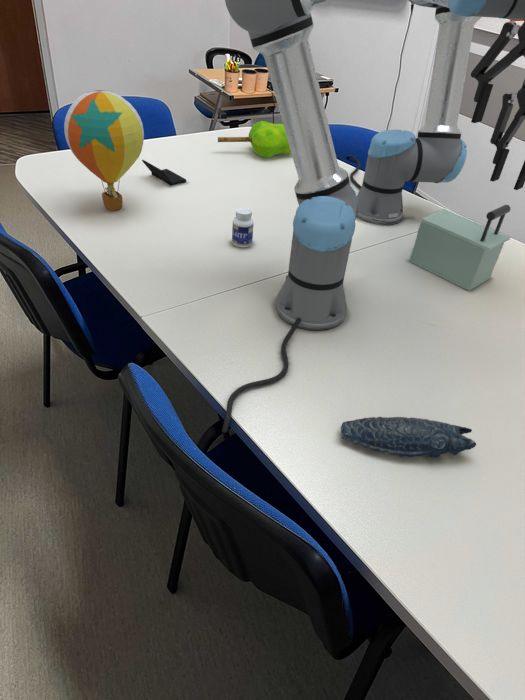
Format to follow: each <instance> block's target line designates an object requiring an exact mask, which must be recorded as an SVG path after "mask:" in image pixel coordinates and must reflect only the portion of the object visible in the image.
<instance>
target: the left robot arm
mask: <svg viewBox="0 0 525 700" xmlns="http://www.w3.org/2000/svg"><path fill="white" fill-rule="evenodd" d="M328 1H329V0H224V3H225V7H226V9H227V11H228V14H229V16H230V17H231V19H232V20H233V21H234V22H235V24H236V25H237V26H238V27H240V28H241V29H242V30H245V31H246V32H247V33H248V36H249V39H250V43H251V46H252V49H253V50H254V51H256V52H257V53H259V54H261V55H262V57H263V58H264V62H265V65H266V69H267V71H268V76H269V79H270V84H271V86H272V90H273V93H274V97H275V100H276V101H275V102H276V104H277V108H278V111H279V114H280V118H281V121H282V124H283V125H284V129H285V132H286V136H287V139H288V143H289V146H290V150H291V153H290V154H291V157H292V160H293V163H294V167H295V171H296V174H297V179H298V180H297V182H296V184H295V186H294V187H293V188H294V189H293V190H294V193H295V197H296V201H297V204H298V206H297V208H296V210H295V215H294V217H293V219H292V237H291V246H290V255H289V262H288V263H289V264H288V270H287V271H288V272H287V274H286V275H285V279H284V282H283V283H282V285H281V287H280V290H279V291H278V294H277V296H276V300H275V311H276V313H277V315H278V316H279V317H280V318H281V319H282V320H283V321H284V322H286V323H287V324H289V325H291V328H290V329H289V330H288V332H287V334H286V335H285V336H284V338H283V339H282V343H281V346H280V350H281V351H280V353H281V359H282V362H283V367H282V370H281V371H280V372H279V373H278V374H276V375H275V376H273V377H270V378H266V379H261V380H257V381H252V382H248V383H246V384H242V385H241V386H240V387H238V388H237V389H235V390H234V391H233V392H232V393H231V394H230V396H229V398H228V400H227V403H226V411H225V416H224V421H223V425H222V429H221V432H222V433H223V434H224V433H227V432H228V430H229V427H230V423H231V419H232V413H233V405H234V402H235V400H236V399H237V398H238V396H239V395H240V394H241V393H243V392H245V391H247V390H249V389H253V388H257V387H263V386H266V385H271V384H274V383H276V382H279V381H280V380H281V379H283V378H284V377H285V376H286V374H287V373H288V371H289V366H290V365H289V364H290V363H289V358H288V354H287V347H288V346H287V345H288V343H289V342H290V339H291V338H292V336H293V335H294V333H295V331H296V330H297V329H298V328H300V329H304V330H310V331H324V330H325V331H326V330H329V329H333V328H336V327H337V326H339V325H340V324H342V323H343V322H344V320H345V318H346V315H347V310H348V307H347V306H348V305H347V297H346V292H345V286H344V280H345V275H346V271H347V267H348V266H347V265H348V260H349V257H350V251H351V245H352V241H353V236H354V235H355V230H356V220H357V219H358V218H357V214H358V200H357V194H356V191H355V190H354V188H353V187H352V185H351V181H350V176H349V173H348V171H347V170H346V169H344V168H343V167H340V166H339V163H338V157H337V154H336V151H335V146H334V142H333V138H332V134H331V130H330V125H329V121H328V117H327V113H326V112H327V111H326V109H325V104H324V100H323V96H322V91H321V87H320V83H319V79H318V75H317V71H316V66H315V62H314V58H313V53H312V50H311V46H310V41H309V39H310V35H311V33H312V31H313V29H314V27H315V26H314V22H313V16H312V13H311V12H312V10H313V8H314V7H315V6H316V5H318V4H322V3H325V2H328ZM500 30H501V31H500V32H499V35H498V37H497V38H496V39H495V41H494V42H493V43H492V44H491V46H490V47H489V48H488V50H487V51H486V52H485V54H484V55H483V56H482V57H481V59H480V61H478V63H477V64H476V66H475V67H474V68H473V70H472V71H471V73H470V77H471V78H472V79H475V80H476V81H477V86H476V90H475V93H474V97H473V102H474V103H476V104H475V108H474V111H473V114H472V117H471V121H470V123H472V124H477V123H481V122H482V121H483V120H484V119H483V118H484V115H485V113H486V109H487V106H488V103H489V99H490V97H491V93H492V90H493V88H494V84H493V83H492V80H494V79H495V78H497V76H498V75H500V74H501V73H502V72H503V71H505V70H506V69H508V67H510V65H512V64H513V63H515V61H517V60H518V59H519V58H521V57H522V56H523V58H525V20H523V23H522V24H521V25H519V24H517V22H515V21H507V22H504V23H503V25H502V28H501V29H500ZM516 35H517V38H518V43H517V44H516V45H515V46H514V47H513V48H512V49H510V50H509V52H508V53H507V54H505V55H504V56H503V57H502V58H501V59H500V60H499V61H497V62H496V63H495V64H493V63H494V61H495V60H496V59H497V58H498V56H499V55H500V54H501V53H502V52H503V50H504V49H505V47H506V46H507V45H508V44H509V42H510V41H511V39H513V38H515V36H516ZM492 64H493V66H491V65H492ZM490 66H491V67H490Z"/></svg>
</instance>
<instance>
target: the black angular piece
mask: <svg viewBox="0 0 525 700" xmlns="http://www.w3.org/2000/svg"><path fill="white" fill-rule="evenodd" d="M141 161H142V163H143V164H144V165H145V167H147V169H148V170H149V171H150V172H151V174H150V175H151V176H153V177H155V178H156V179H158V180H160V181H162V182H163V183H165V184H167V185H168V186H170V187H172V186H177V185H180V184H184V183H185V184H186V183H187V179H186V178H184V177H183V176H181V175H179V174H177V173H175V172H173V171H172V170H170V169H168V168H164V169H161V168H159V167H157V166H155V165H153V164H151V163H150V162H148V161H146V160H145V159H142V160H141Z"/></svg>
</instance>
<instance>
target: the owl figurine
mask: <svg viewBox="0 0 525 700" xmlns="http://www.w3.org/2000/svg"><path fill="white" fill-rule="evenodd" d="M472 431H473V429H471V428H470V427H466V426H460V425H456V424H450V423H448V422H443V421H437V420H431V419H427V418H421V417H420V418H419V417H405V416H392V417H387V416H386V417H385V416H377V417H375V416H373V417H372V416H371V417H363V418H358V419H353V420H347V421H343V422H342V423H341V425H340V432H341V434H340V439H343V440H347V441H349V442H353V443H354V444H355V445H359V446H361V447H363V448H367V449H370V450H371V451H375V452H380V453H383V454H385V453H387V454H389V455H391V456H399V457H407V458H413V457H423V456H427V457H430V458H439V457H440V456H441V455H445V454H451V455H454V456H457V455H459V454H460V453H461V452H464V451H468V450H472V449H474V448H475V447H476V446H477V443H476V441H474V440H473V439H472V438H469V437H467V436H465V435H464V434H470V433H471V432H472Z"/></svg>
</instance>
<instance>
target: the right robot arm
mask: <svg viewBox="0 0 525 700" xmlns="http://www.w3.org/2000/svg"><path fill="white" fill-rule="evenodd" d="M407 1H408V2H410V3H411V4H413V5H416V6H418V7H424V8H431V9H433V8H434V9H435V12H434V20H435V21H436V22H437V23H438V26H439V27H438V33H437V39H436V40H437V41H436V46H435V54H434V59H433V66H432V67H433V68H432V73H431V80H430V87H429V94H428V101H427V106H426V115H425V120H424V125H423V126H422V127H420V129H419V130H418V131H417V136H416V134H415V133H414V132H412V131H409V130H404V129H403V130H402V129H386V130H383V131H379V132H378V133H376V134H375V135H373V137H372V138H371V141H370V145H369V149H368V150H367V159H366V164H365V169H364V174H363V179H362V183H361V185H360V184H359V183H358V181H356V179H354V175H355V174H356V173H357V172H358V171H359V169H360V168H361V162H360V161H359V160H358V159H357V157H355V156H354V155H352V154H348V155H347V156H346V157H345V159H348V160H349V159H352V160H353V161H354V162H355V163H356V164H357V166H356V168H355V169H354V170H353V171H352V172H350V175H349V179H350V180H351V181H350V182H352V184H353V185H355V186H356V187H357V188H358V189H359V191H358V193H357V194H356V196H357V200H358V214H357V218H356V219H358V220H361V221H363V222H366V223H369V224H373V225H383V226H386V225H388V226H389V225H394V224H397V223H399V222H401V221H402V219H403V216H404V202H403V190H404V186H405V182H407V183H408V182H409V183H433V184H440V183H441V184H442V183H450V182H453V181H454V180H455V179H457V177H458V176H459V175H460V173H461V172H462V170H463V169H464V165H465V163H466V159H467V154H468V149H467V147H468V146H467V143H466V141H464V140H463V139H461V138H462V131H461V129H460V128H459V127H458V123H459V116H460V110H461V104H462V99H463V94H464V88H465V87H464V86H465V82H466V74H467V69H468V64H469V57H470V52H471V46H472V39H473V34H474V30H475V29H474V28H475V25H476V24H477V23H478V22H479V21H480V20H481V19H482V18H493V19H503V20H515V21H524V20H525V0H407ZM516 103H518V109H517V111H516V113H515V114H514V118H513V119H512V120H511V122H510V124H509V126H508V125H507V124H508V122H509V119H510V116H511V114H512V111H513V108H514V104H516ZM524 121H525V78H524V79H523V81H522V85H521V87H520V88H519V90H518V91H517V92H507V93H504V94H503V95H502V106H501V108H500V112H499V114H498V118H497V120H496V122H495V126H494V129H493V132H492V134H491V138H490V141H489V142H490V144H491V145H494V147H496V150H495V153H494V156H493V159H492V165H494V168H493V171H492V173H491V177H490V179H489V182H493V183H494V182H496V181H498V180H500V178H501V175H502V172H503V169H504V167H505V164H506V161H507V158H508V155H509V153H510V149H509V148H508V147H509V145H510V143H511V141H512V140H513V138H514V136H515V135H516V134H517V132H518V130H519V128H520V127H521V125H523V122H524ZM506 127H507V129H506ZM524 185H525V160H524V161H523V163H522V166H521V169H520V171H519V173H518V177H517V179H516V181H515V184H514V186H513V190H515V191H519V190H522V189H523V188H524Z"/></svg>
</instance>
